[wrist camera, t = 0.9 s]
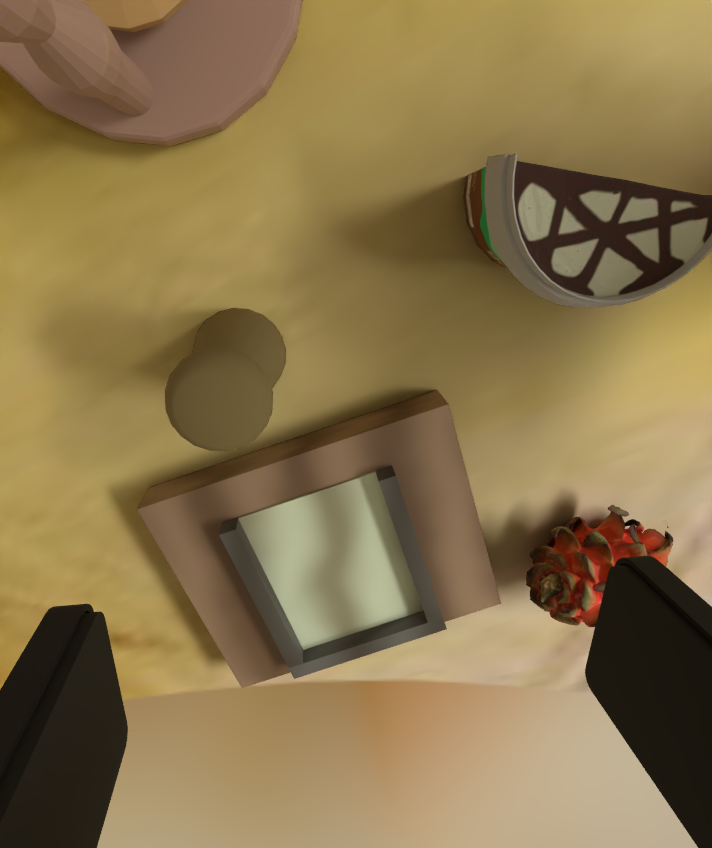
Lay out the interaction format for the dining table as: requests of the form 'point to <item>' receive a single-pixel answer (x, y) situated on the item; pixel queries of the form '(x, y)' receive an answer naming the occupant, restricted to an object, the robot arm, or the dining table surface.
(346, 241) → the dining table surface
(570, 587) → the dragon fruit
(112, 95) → the hourglass
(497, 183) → the food container
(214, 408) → the brown rounded bulbous piece
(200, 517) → the dock
